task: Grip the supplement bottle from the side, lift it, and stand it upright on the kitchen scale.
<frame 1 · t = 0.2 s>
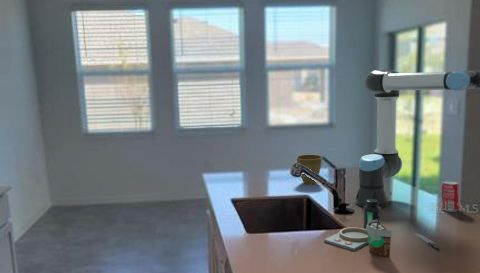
soda can: (449, 210, 193), on the worktop
plant pot: (309, 183, 251), on the worktop
food container: (375, 252, 150), on the worktop
supplement bottle: (371, 229, 173), on the worktop
chef's knife: (428, 242, 159), on the worktop
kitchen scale: (351, 239, 162), on the worktop
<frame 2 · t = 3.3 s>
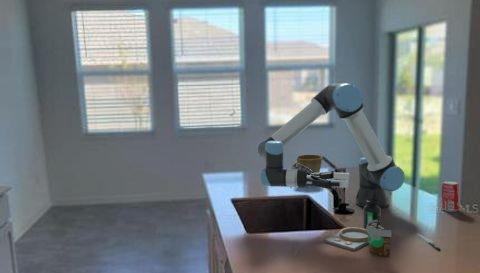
hand: (349, 180, 173), 20 cm above the worktop, tool horizontal, fingers open, 13 cm apart
nothing on the worktop moved.
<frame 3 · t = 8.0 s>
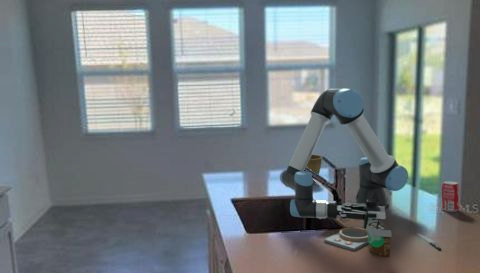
hand: (384, 212, 171), 7 cm above the worktop, tool horizontal, fingers closed on supplement bottle, 7 cm apart
supplement bottle: (371, 228, 173), on the worktop, touching gripper
everything else where it was.
when the fingers open (9 cm above the worktop, at t = 12.9 s): supplement bottle drops 1 cm, resting on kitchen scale.
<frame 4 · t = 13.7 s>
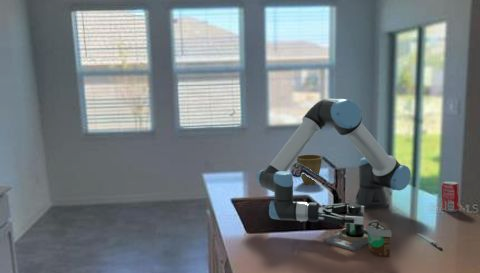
hand: (363, 214, 161), 10 cm above the worktop, tool horizontal, fingers open, 13 cm apart
supplement bottle: (354, 236, 163), point 1 cm above the worktop, touching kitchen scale
everything else where it was.
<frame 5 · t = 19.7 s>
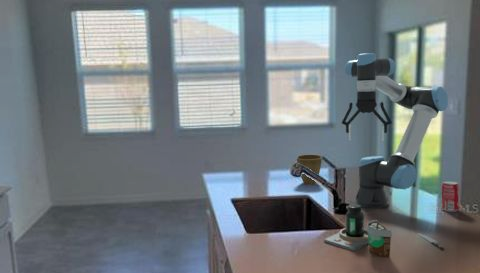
hand: (366, 140, 180), 35 cm above the worktop, tool pointing down, fingers open, 13 cm apart
at the end: supplement bottle 0.2 cm from the target spot on the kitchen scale, point 0.8 cm above the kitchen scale's base; supplement bottle tilted 0°; the gripper is holding nothing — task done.
